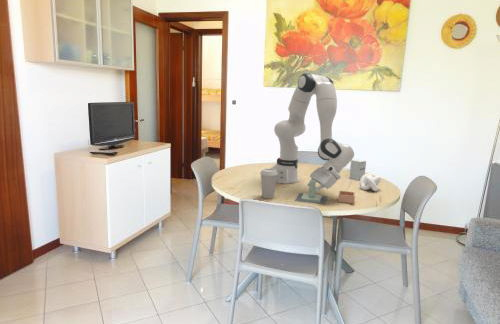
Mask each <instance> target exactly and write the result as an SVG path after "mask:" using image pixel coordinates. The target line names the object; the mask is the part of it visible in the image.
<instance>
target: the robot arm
mask: <svg viewBox="0 0 500 324" xmlns="http://www.w3.org/2000/svg"><path fill="white" fill-rule="evenodd" d="M314 95H315V97H316V100H315V101H316V112H317V115H318V120H319V126H320V143H319V146H318V148H317V155H318V157H319V158H320V159H321V160H322V161H326V162H324V164H323V165H322V166H319V167H317V168H316V169H314V171H313V172H311V173H310V174H309V178H310V180H316V183H317V184H319V185H317V186H316V188H315V189H314V190H315V193H316V192H317V193H318V192H319V191H321V190H323V189H324V188H326V189H328V190H329V189H330V188H332V187H333V186H334V185H335V184H336V183H337V182H338V180H340V179H341V178H342V176H341V175H340V173H341V172H342V170H343V169H344V168H345V167H347V166H348V165H349V164H350V163H351V160H354V157H355V152H354V150H353V148H352V147H351V145H348V144H345V143H341V142H338V141H336V140H334V139H333V133H332V132H333V130H332V128H333V122H334V119H335V116H336V114H337V108H338V98H337V97H338V96H337V93H336V88H335V85H334V81H333V80H332V79H331V78H329V77H328V76H324V75H320V74H313V73H309V72H308V73H305V72H304V73H302V74H301V75H299V78H298V80H297V85H296V88H295V90H294V92H293V94H292V96H291V99H290V101H289V102H290V103H289V105H288V107H287V109H288V112H289V117H288V119H285V120H281V121H279V122H277V123H275V125H274V131H273V132H274V133H275V136H276V137H277V138H278V141H279V151H280V152H279V153H280V154H279V157H278V158H277V159H276V164H274V165H273V166H272V167H270V168H269V169H275V170H276V171H277V173H278V175H277V178H276V184H277V183H279V184H284V185H285V184H293V183H294V184H295V183H298V182H299V181H300V180H299V175H298V167H299V160H298V155H299V154H298V153H299V147H298V145H297V144H296V141H295V138H296V137H300V136H301V135H303V134H304V133H305V131H306V125H305V117H306V114H307V110H308V107H309V105H310V102H311V98H312V96H314ZM309 183H310V181H309V182H308V183H307V184H306V185H307V186H308V187H309Z"/></svg>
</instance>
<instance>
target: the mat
mask: <svg viewBox="0 0 500 324" xmlns="http://www.w3.org/2000/svg"><path fill="white" fill-rule="evenodd" d="M303 194H304V193H303V192H298V194H297V196H296V197H295V199H294V202H300V203H308V204H314V205H315V204H316V205H326V204H327V200H328V197H329V196H328V195H322V198H321V201H320V202H313V201H305V200H301V197H302V196H303Z"/></svg>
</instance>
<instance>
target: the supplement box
mask: <svg viewBox="0 0 500 324" xmlns="http://www.w3.org/2000/svg"><path fill="white" fill-rule="evenodd" d="M366 166H367V160H365V159H364V160H363V159H360V158H359V159H357V158H356V159H352V160H351V161H350V167H349V179H351V180H356V181H360V179H361V177H362V176H363V175H365V174H366Z"/></svg>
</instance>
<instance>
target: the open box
mask: <svg viewBox="0 0 500 324" xmlns="http://www.w3.org/2000/svg"><path fill="white" fill-rule="evenodd" d="M355 195H356V192H355V191H347V190H339V193H338V198H337V199H338V201H337V202H338V203H343V204H349V205H354V206H355V199H356V198H355Z"/></svg>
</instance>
